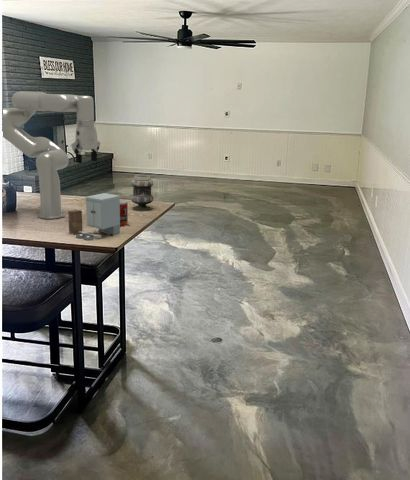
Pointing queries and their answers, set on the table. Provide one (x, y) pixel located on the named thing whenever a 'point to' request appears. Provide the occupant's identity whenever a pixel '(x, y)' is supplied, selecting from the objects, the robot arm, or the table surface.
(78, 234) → the disc
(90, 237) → the disc
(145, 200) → the apothecary jar
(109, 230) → the cabinet
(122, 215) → the canned food
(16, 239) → the table surface
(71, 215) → the brown wooden block
